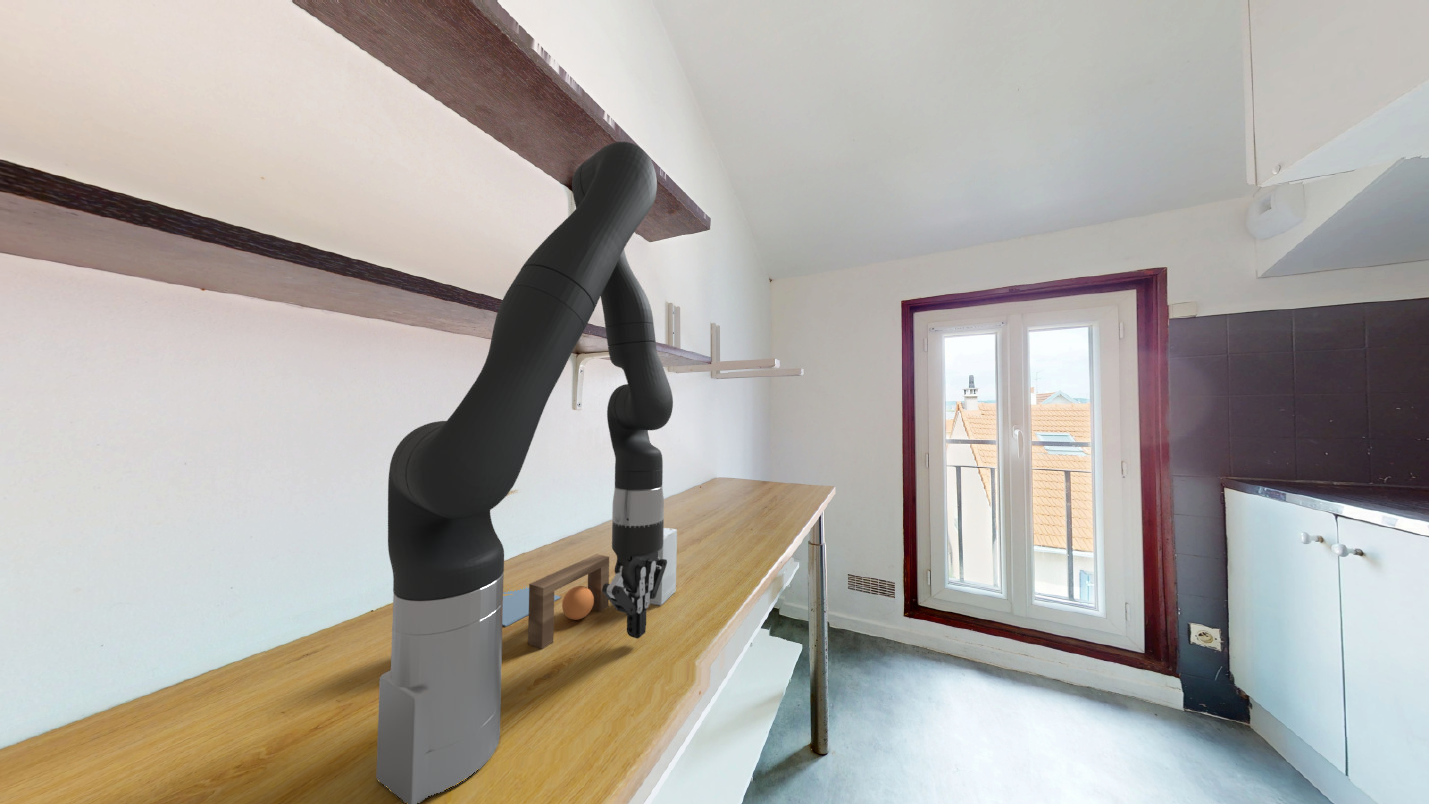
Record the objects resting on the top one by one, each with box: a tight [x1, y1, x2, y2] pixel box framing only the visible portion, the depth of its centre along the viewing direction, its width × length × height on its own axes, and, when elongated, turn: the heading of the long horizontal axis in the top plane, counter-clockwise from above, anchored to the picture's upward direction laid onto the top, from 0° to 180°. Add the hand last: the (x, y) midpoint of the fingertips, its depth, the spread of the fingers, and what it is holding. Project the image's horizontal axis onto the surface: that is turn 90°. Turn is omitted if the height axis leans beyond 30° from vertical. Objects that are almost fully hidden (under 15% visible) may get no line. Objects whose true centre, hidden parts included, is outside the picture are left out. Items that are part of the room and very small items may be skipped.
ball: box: [561, 585, 594, 621], centre depth 65 cm, size 5×5×5 cm
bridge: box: [527, 553, 610, 650], centre depth 64 cm, size 3×14×9 cm, turn 154°
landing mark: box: [502, 586, 562, 627], centre depth 70 cm, size 11×11×1 cm
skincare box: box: [649, 527, 678, 606], centre depth 73 cm, size 6×4×12 cm
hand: (636, 634), depth 58 cm, fingers closed
